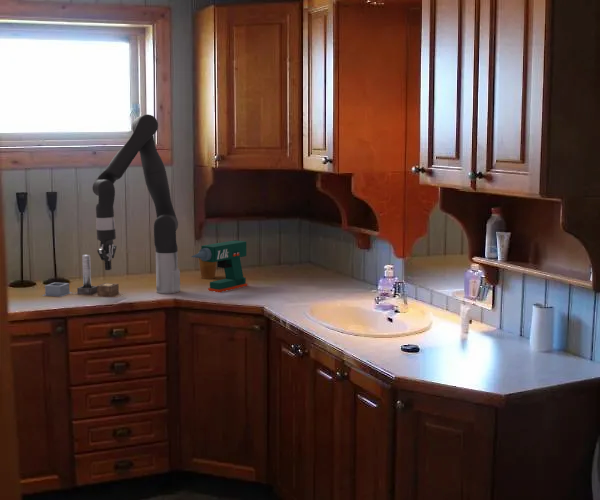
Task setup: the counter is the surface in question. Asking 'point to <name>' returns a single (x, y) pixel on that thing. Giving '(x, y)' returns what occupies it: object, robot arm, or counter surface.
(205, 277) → the disposable coffee cup
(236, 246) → the power tool
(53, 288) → the gray square socket
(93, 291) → the socket block
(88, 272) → the pale grey rod
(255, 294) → the counter surface
